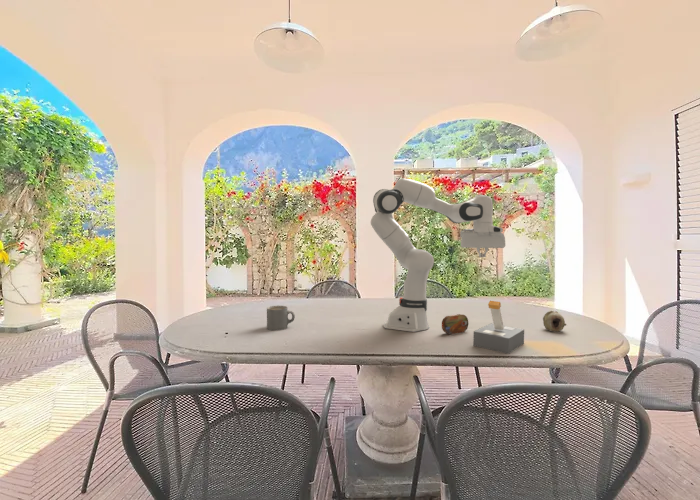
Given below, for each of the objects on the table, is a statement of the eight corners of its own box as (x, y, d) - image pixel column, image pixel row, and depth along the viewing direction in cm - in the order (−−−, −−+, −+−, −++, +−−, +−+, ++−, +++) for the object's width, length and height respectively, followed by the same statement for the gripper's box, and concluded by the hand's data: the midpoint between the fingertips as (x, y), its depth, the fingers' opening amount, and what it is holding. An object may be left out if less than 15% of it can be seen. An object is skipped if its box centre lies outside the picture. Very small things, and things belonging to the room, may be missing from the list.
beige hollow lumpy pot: (543, 334, 166) (536, 313, 168) (556, 329, 169) (549, 309, 171) (559, 333, 157) (551, 312, 159) (572, 328, 160) (564, 307, 162)
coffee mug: (264, 330, 163) (264, 309, 163) (270, 324, 173) (269, 305, 172) (292, 330, 162) (292, 309, 162) (296, 325, 172) (296, 305, 172)
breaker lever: (495, 325, 144) (490, 300, 139) (505, 327, 141) (500, 302, 136) (493, 329, 142) (488, 304, 138) (503, 331, 140) (498, 305, 135)
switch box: (490, 336, 153) (491, 323, 153) (523, 343, 144) (524, 329, 143) (473, 345, 141) (473, 331, 140) (508, 353, 131) (508, 338, 131)
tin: (445, 335, 155) (445, 317, 155) (440, 333, 158) (440, 315, 157) (468, 331, 162) (469, 313, 162) (463, 329, 165) (464, 312, 164)
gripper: (460, 228, 165) (460, 257, 165) (506, 228, 160) (505, 257, 160) (460, 229, 171) (459, 256, 172) (503, 228, 166) (503, 257, 166)
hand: (482, 257), depth 166 cm, fingers closed
